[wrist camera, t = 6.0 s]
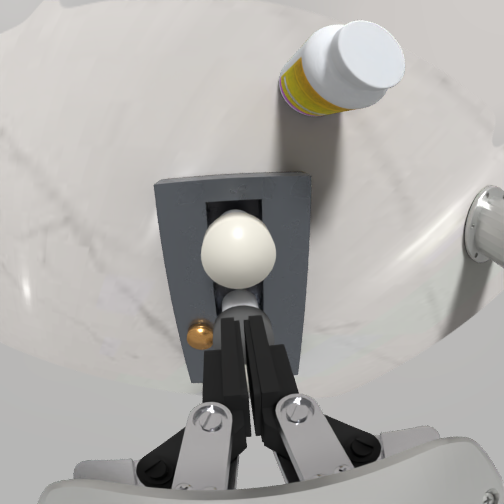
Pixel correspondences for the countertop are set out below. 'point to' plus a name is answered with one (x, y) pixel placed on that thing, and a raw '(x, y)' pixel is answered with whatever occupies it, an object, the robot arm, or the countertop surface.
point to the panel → (190, 244)
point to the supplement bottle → (342, 69)
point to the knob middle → (240, 316)
